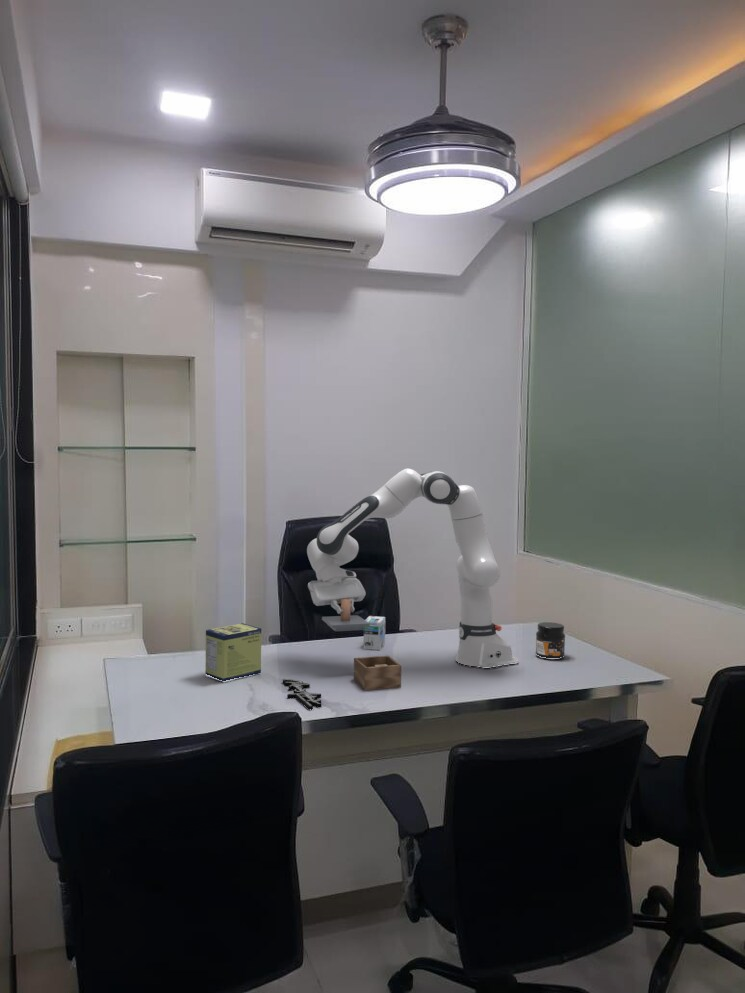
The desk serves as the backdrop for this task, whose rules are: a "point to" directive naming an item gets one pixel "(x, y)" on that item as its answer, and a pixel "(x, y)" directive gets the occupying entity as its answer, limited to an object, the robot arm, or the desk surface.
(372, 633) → the light bulb box
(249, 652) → the protein box
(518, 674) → the desk surface
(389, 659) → the box
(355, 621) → the lid
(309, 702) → the nameplate
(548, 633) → the supplement container
